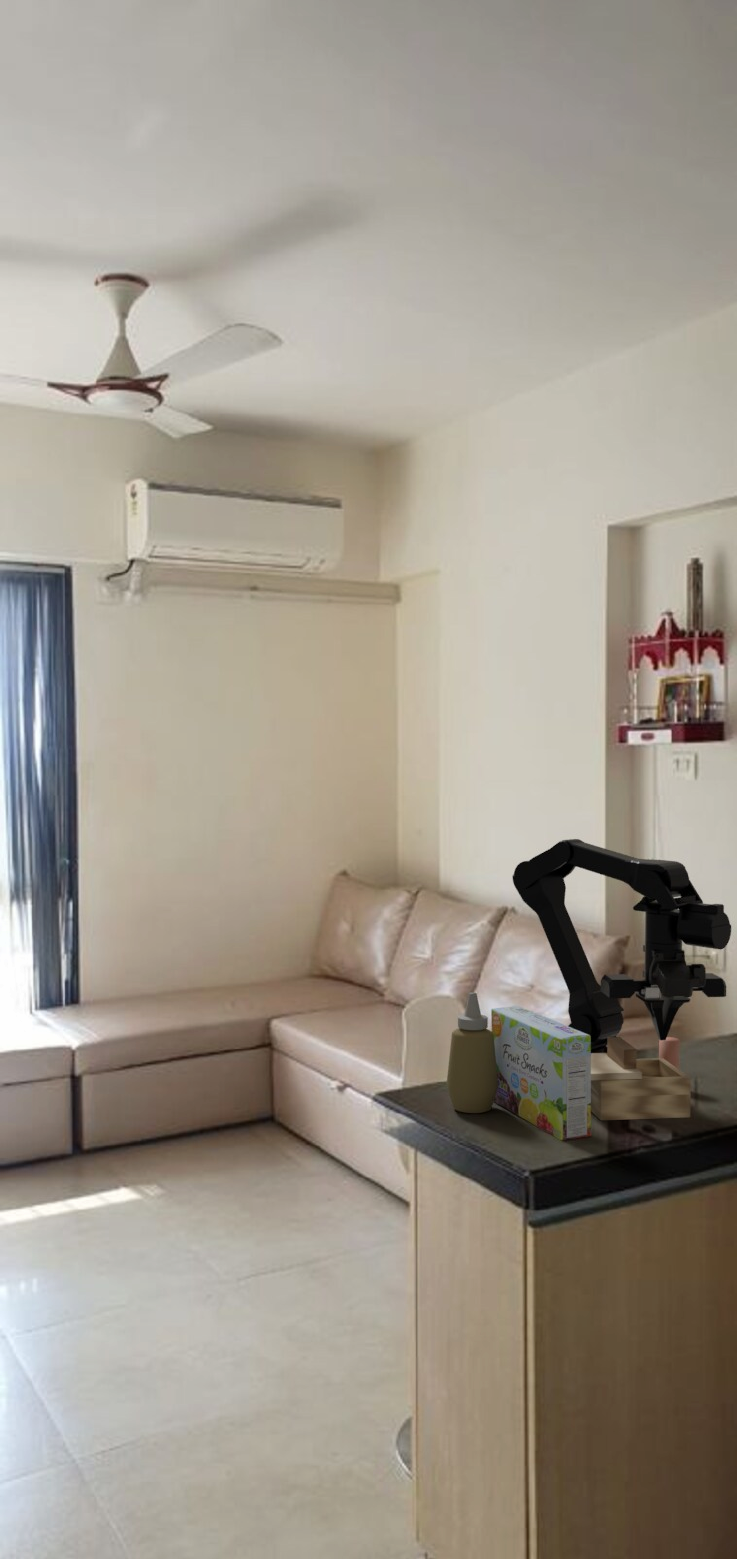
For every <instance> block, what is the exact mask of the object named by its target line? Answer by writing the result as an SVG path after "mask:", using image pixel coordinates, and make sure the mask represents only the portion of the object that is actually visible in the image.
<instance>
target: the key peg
mask: <svg viewBox="0 0 737 1559" xmlns="http://www.w3.org/2000/svg"><path fill="white" fill-rule="evenodd" d="M658 1042H659V1044H658V1058H663V1059H665V1060H666V1061H668V1062H669V1063H670V1064H672V1065H673V1066H675V1067H676V1068H677V1069H679V1070H680V1039H679V1038H676V1037H673V1036H671V1037H670V1036H667V1038H666V1040H660V1039H659V1038H658Z"/></svg>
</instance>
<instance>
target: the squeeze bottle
mask: <svg viewBox="0 0 737 1559" xmlns="http://www.w3.org/2000/svg"><path fill="white" fill-rule="evenodd" d="M467 997H468V998H467V1001H466V1002H467V1003H466V1005H465V1006H466V1007H465V1011H464V1014H459V1015H458V1016H457V1028H456V1029H454V1030H453V1031H452V1032H451V1038H450V1049H449V1056H448V1058H449V1059H448V1067H447V1068H448V1069H447V1075H446V1087H447V1091H448V1095H449V1098H450V1101H451V1105H452V1108H453V1109H454V1110H456V1111H457V1112H461V1113H467V1114H480V1113H486V1112H489V1111H490V1110H492V1107H493V1104H494V1103H495V1102H494V1099H495V1096H496V1093H497V1090H498V1078H497V1067H496V1056H495V1045H494V1035H493V1033H492V1030H490V1029H488V1027H489V1026H488V1024H489V1022H488V1021H489V1018H488V1016H487V1015H485V1014H482V1013H481V1009H480V1004H479V999H478V994H477V992H469V993H468V996H467Z"/></svg>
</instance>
